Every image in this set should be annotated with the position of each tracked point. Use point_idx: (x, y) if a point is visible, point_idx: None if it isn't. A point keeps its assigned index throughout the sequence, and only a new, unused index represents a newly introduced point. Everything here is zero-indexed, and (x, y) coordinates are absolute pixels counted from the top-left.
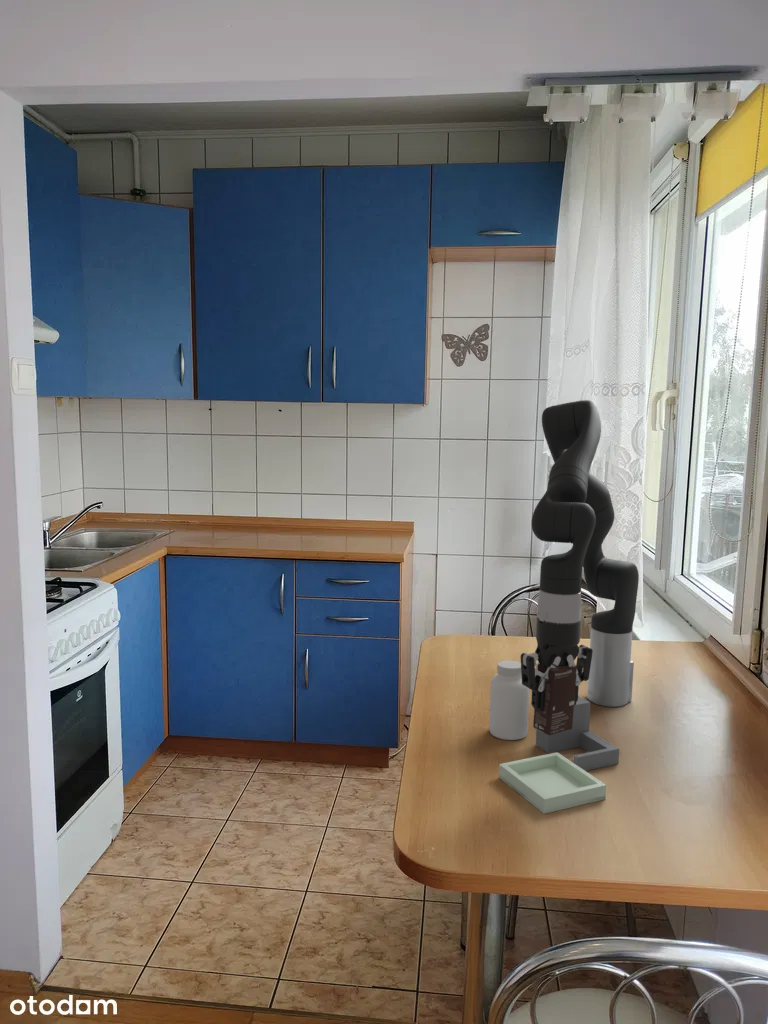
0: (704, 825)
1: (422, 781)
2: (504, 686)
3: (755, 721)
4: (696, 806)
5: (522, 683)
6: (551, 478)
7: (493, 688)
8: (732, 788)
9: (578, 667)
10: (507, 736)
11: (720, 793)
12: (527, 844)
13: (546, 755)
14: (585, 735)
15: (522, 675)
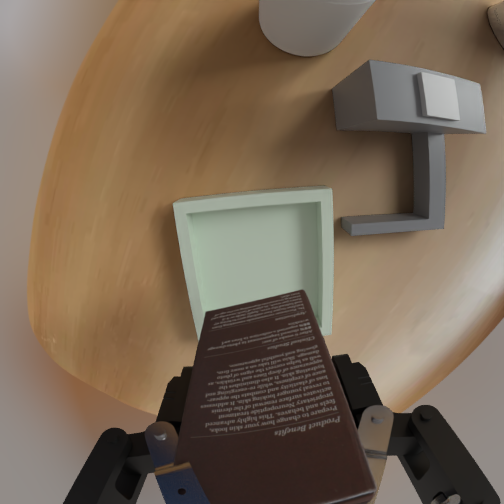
0: (385, 389)
1: (56, 180)
2: None
3: None
4: (415, 356)
5: (104, 435)
6: None
7: None
8: (477, 326)
9: (428, 450)
10: (281, 47)
11: (460, 334)
12: (152, 375)
13: (298, 195)
14: (428, 147)
15: (89, 466)
